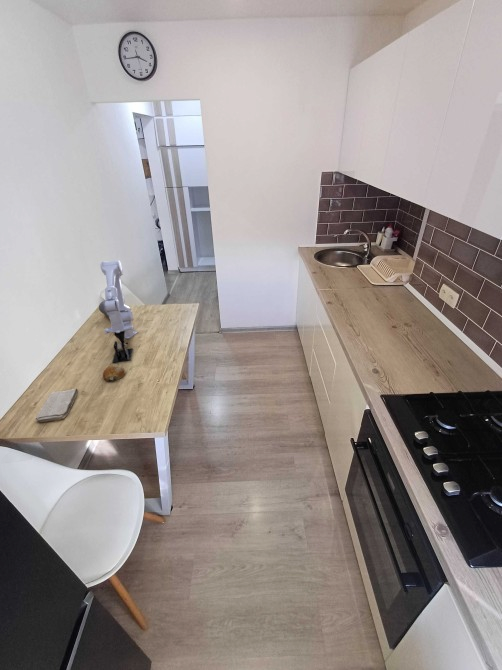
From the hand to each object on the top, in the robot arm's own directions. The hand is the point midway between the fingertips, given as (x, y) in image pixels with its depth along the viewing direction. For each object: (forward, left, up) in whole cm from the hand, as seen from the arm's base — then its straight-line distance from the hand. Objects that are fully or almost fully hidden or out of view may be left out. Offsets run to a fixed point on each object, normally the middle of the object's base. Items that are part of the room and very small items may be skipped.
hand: (123, 342), depth 174 cm
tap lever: (+3, -4, 0) cm, 5 cm away
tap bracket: (+5, -6, -4) cm, 9 cm away
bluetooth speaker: (-34, +23, -5) cm, 41 cm away
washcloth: (+8, -46, -5) cm, 47 cm away
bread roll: (+14, -20, -5) cm, 24 cm away
